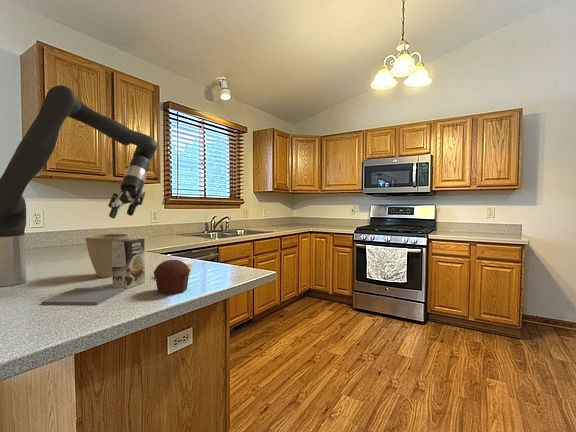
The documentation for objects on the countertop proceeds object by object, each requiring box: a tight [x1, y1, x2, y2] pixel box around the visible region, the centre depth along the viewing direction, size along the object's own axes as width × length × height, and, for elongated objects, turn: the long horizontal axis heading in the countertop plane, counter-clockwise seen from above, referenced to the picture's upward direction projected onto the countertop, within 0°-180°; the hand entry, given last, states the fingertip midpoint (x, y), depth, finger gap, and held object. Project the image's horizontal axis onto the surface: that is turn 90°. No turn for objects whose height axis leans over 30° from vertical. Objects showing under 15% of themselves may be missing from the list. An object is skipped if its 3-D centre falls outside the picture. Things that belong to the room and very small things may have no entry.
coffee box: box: [111, 237, 146, 290], centre depth 107 cm, size 9×6×16 cm
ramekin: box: [178, 259, 194, 276], centre depth 123 cm, size 11×11×5 cm
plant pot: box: [84, 233, 130, 278], centre depth 122 cm, size 15×15×16 cm
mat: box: [40, 287, 125, 306], centre depth 94 cm, size 16×14×1 cm
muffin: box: [153, 259, 190, 296], centre depth 100 cm, size 12×11×10 cm
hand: (120, 216), depth 112 cm, fingers open, 8 cm apart
